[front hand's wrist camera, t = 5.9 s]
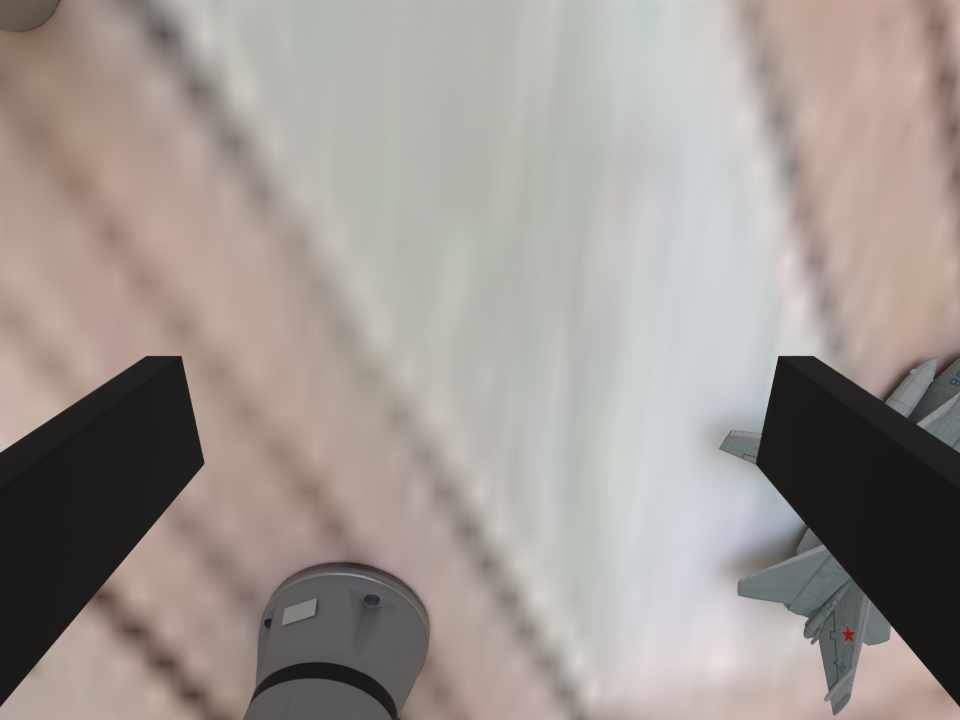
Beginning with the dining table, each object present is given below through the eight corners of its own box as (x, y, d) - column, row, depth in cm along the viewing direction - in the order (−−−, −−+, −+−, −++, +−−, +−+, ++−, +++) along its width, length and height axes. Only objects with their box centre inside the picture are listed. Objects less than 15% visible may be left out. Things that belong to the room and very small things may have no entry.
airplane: (1069, 579, 50) (1207, 677, 41) (717, 637, 52) (771, 744, 43) (1160, 132, 37) (1393, 126, 28) (685, 233, 39) (753, 258, 30)
